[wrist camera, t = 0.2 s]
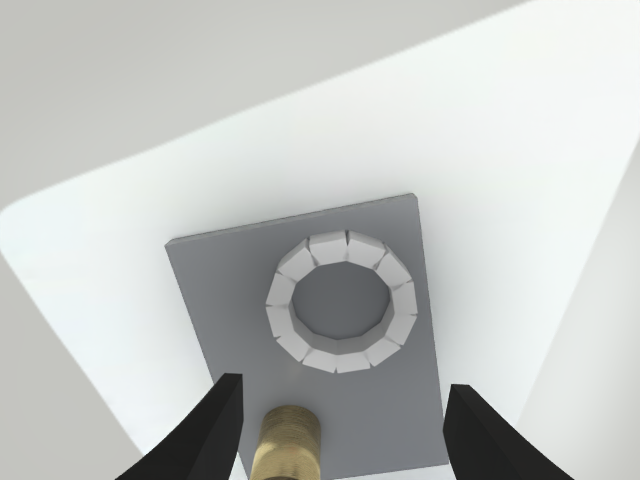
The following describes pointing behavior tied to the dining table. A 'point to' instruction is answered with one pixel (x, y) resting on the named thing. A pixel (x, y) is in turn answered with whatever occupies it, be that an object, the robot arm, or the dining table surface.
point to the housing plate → (324, 330)
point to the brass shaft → (288, 445)
